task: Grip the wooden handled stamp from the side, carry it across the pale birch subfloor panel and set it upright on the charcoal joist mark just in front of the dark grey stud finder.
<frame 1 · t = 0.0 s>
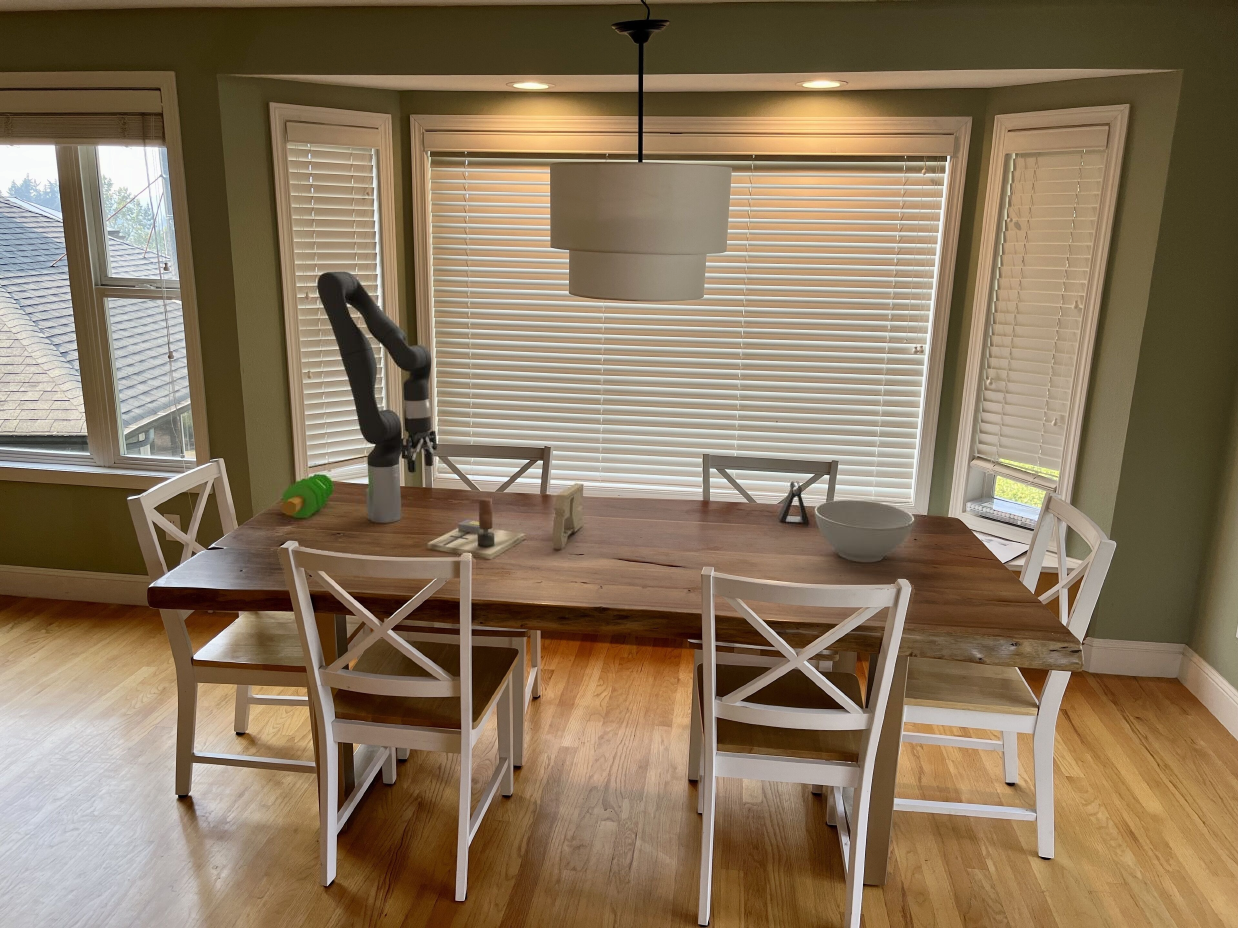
hand: (420, 469, 264), 17 cm above the table, tool pointing down, fingers open, 8 cm apart
phone stand: (793, 520, 281), on the table
subfloor panel: (477, 543, 253), on the table
decorative tree: (313, 510, 281), on the table
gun: (568, 537, 261), on the table
wooden handled stamp: (486, 544, 248), point 1 cm above the table, touching subfloor panel
stud finder: (473, 529, 260), point 2 cm above the table, touching subfloor panel
decorative bowl: (860, 555, 251), on the table
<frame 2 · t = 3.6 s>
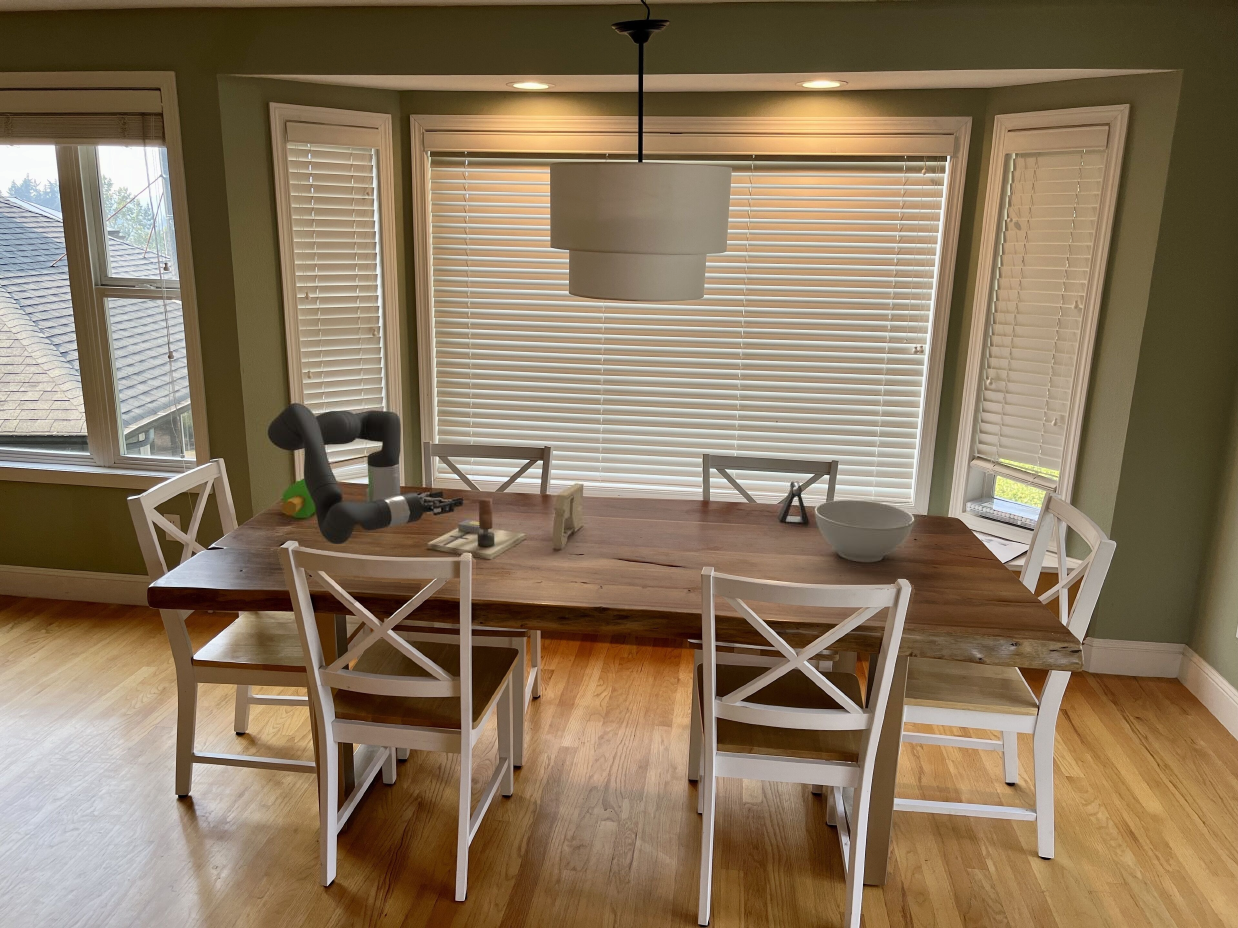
hand: (452, 497, 236), 17 cm above the table, tool horizontal, fingers open, 8 cm apart
nothing on the table moved.
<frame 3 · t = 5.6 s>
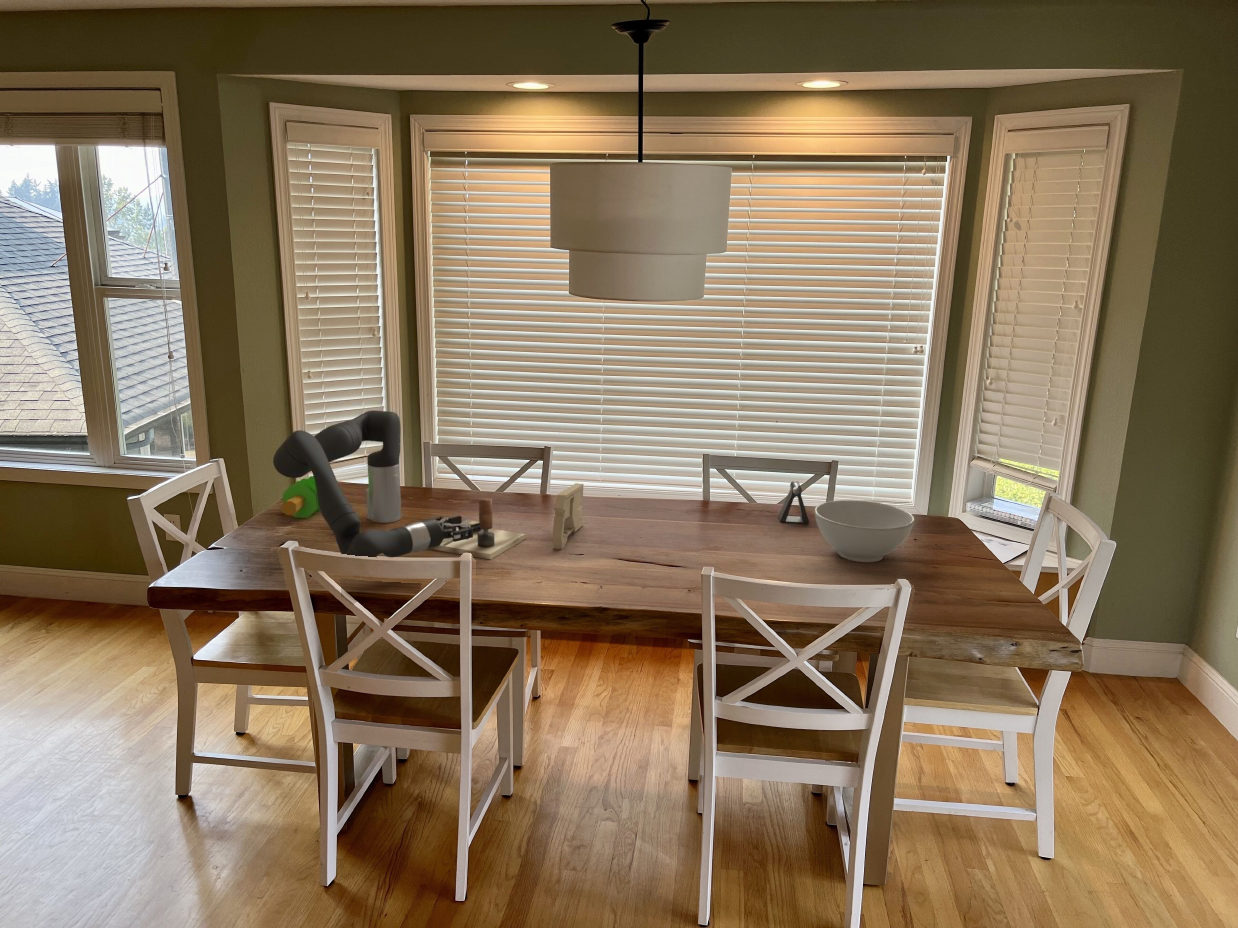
hand: (470, 522, 241), 9 cm above the table, tool horizontal, fingers open, 8 cm apart
nothing on the table moved.
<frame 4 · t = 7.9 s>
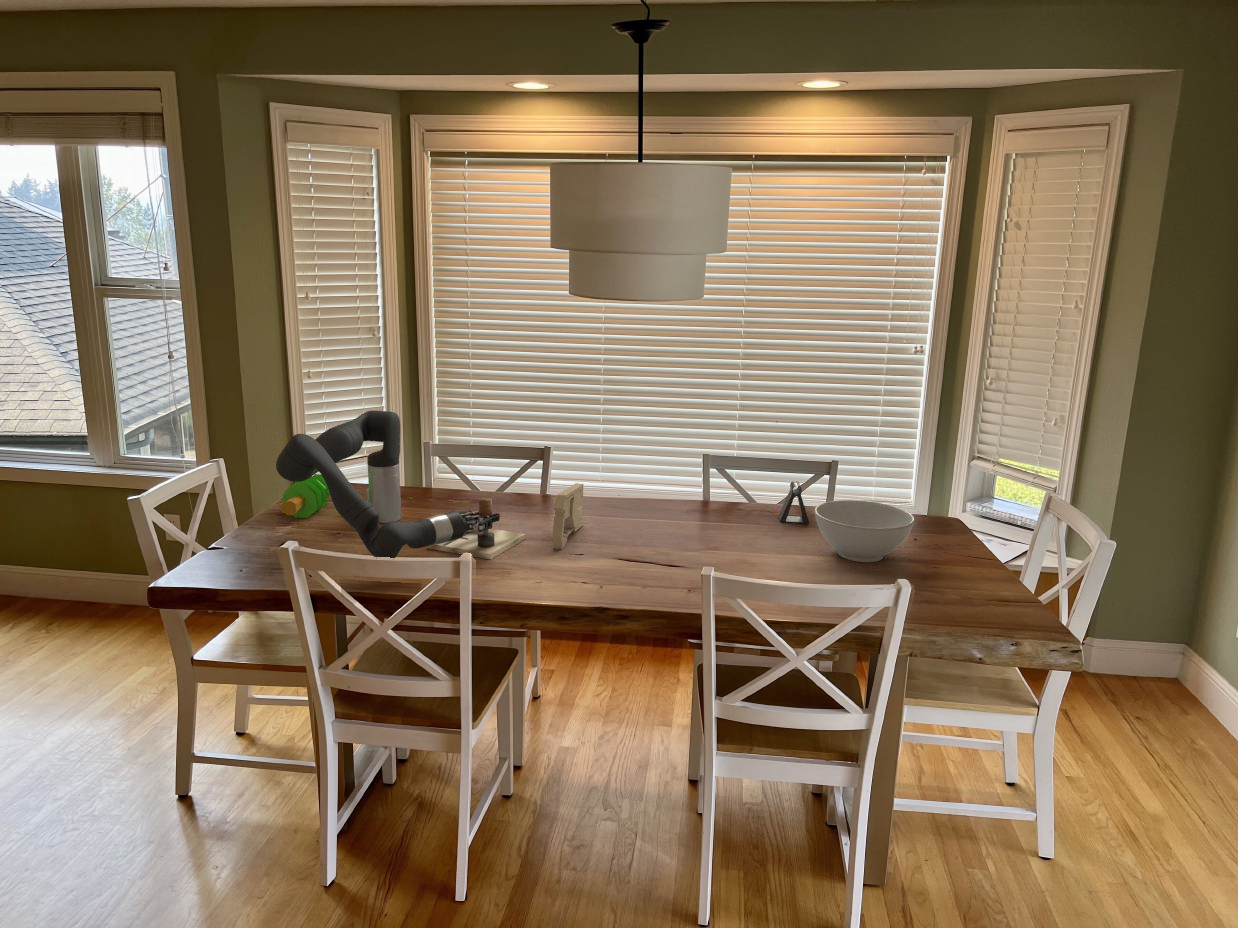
hand: (493, 515, 248), 9 cm above the table, tool horizontal, fingers closed on wooden handled stamp, 3 cm apart
wooden handled stamp: (486, 544, 248), point 1 cm above the table, touching gripper, subfloor panel
everything else where it was.
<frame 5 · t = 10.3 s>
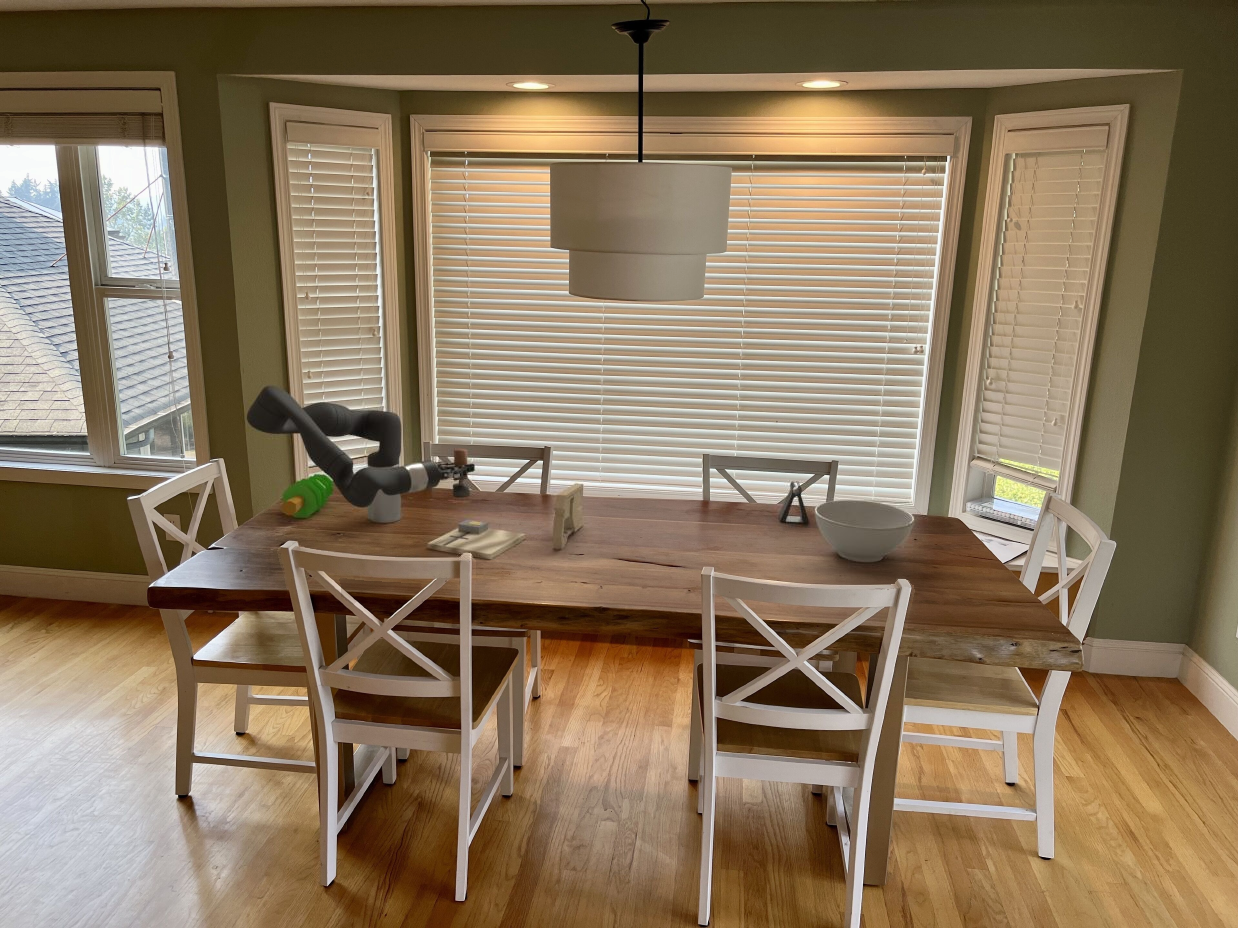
hand: (468, 465, 250), 22 cm above the table, tool horizontal, fingers closed on wooden handled stamp, 3 cm apart
wooden handled stamp: (461, 495, 250), point 14 cm above the table, touching gripper
everything else where it was.
when the fingers open (10 cm above the table, at t = 12.9 s): wooden handled stamp stays where it is, resting on subfloor panel.
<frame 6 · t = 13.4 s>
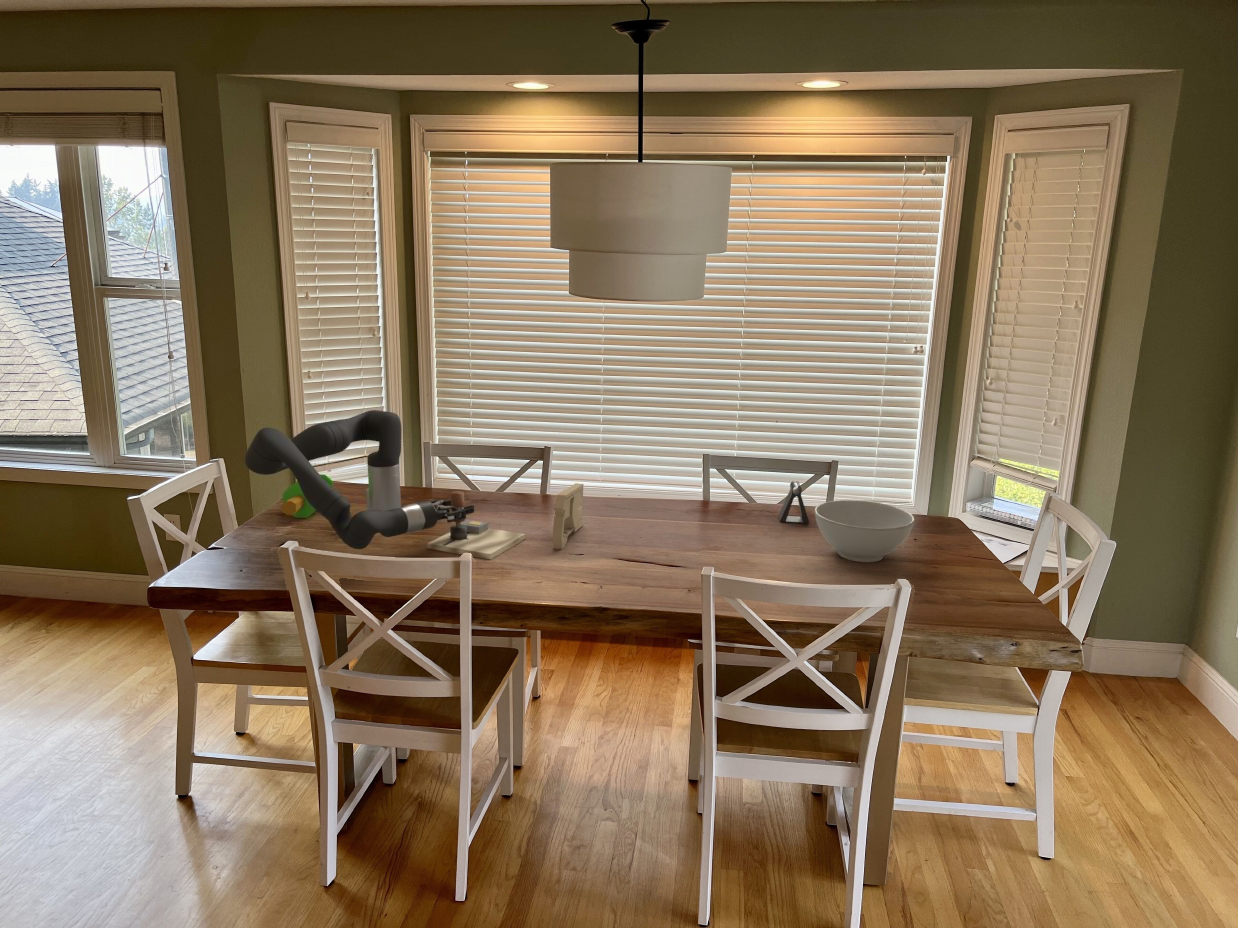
hand: (464, 505, 252), 11 cm above the table, tool horizontal, fingers open, 8 cm apart
wooden handled stamp: (458, 537, 253), point 2 cm above the table, touching subfloor panel
everything else where it was.
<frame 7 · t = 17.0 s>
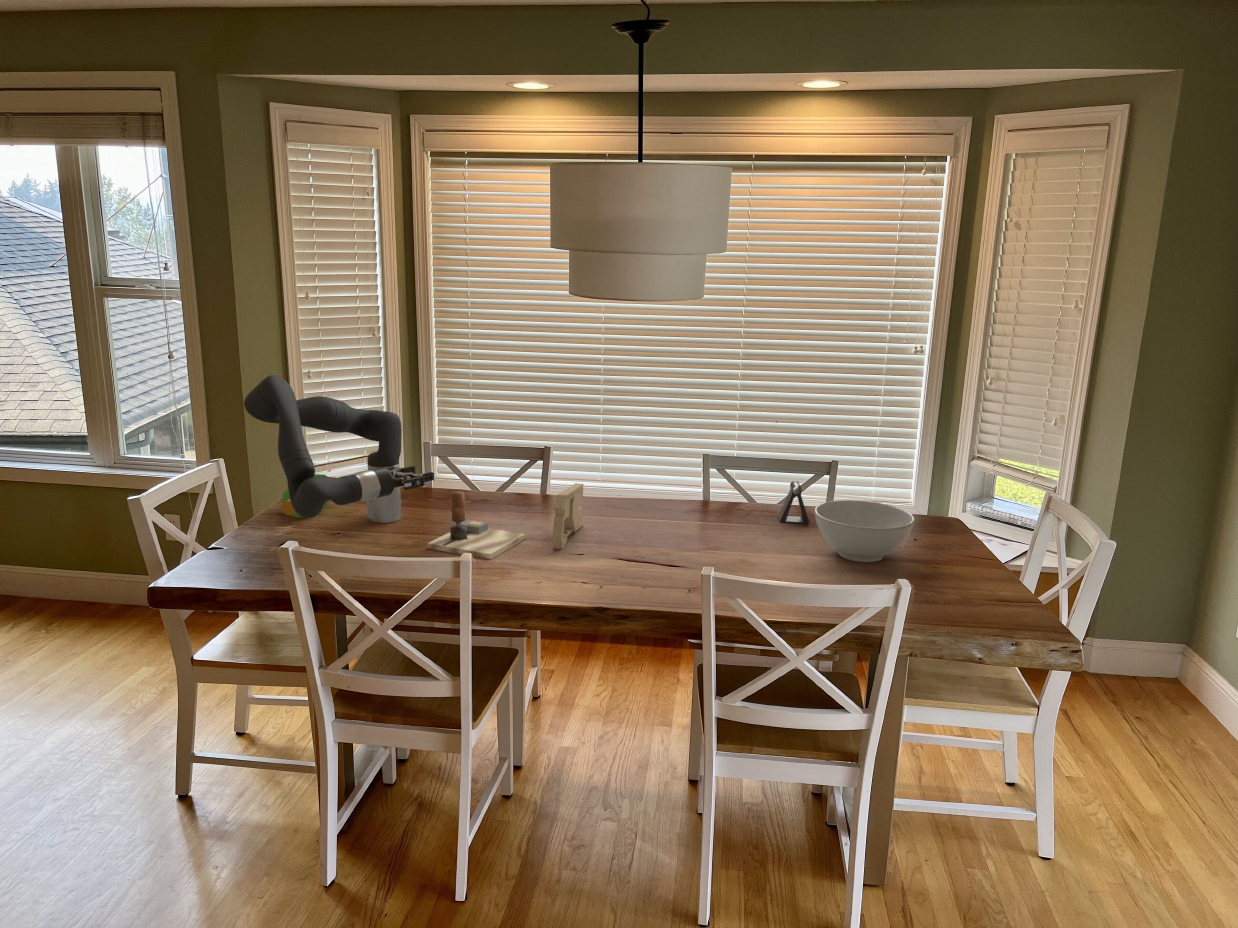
hand: (423, 472, 240), 22 cm above the table, tool horizontal, fingers open, 8 cm apart
nothing on the table moved.
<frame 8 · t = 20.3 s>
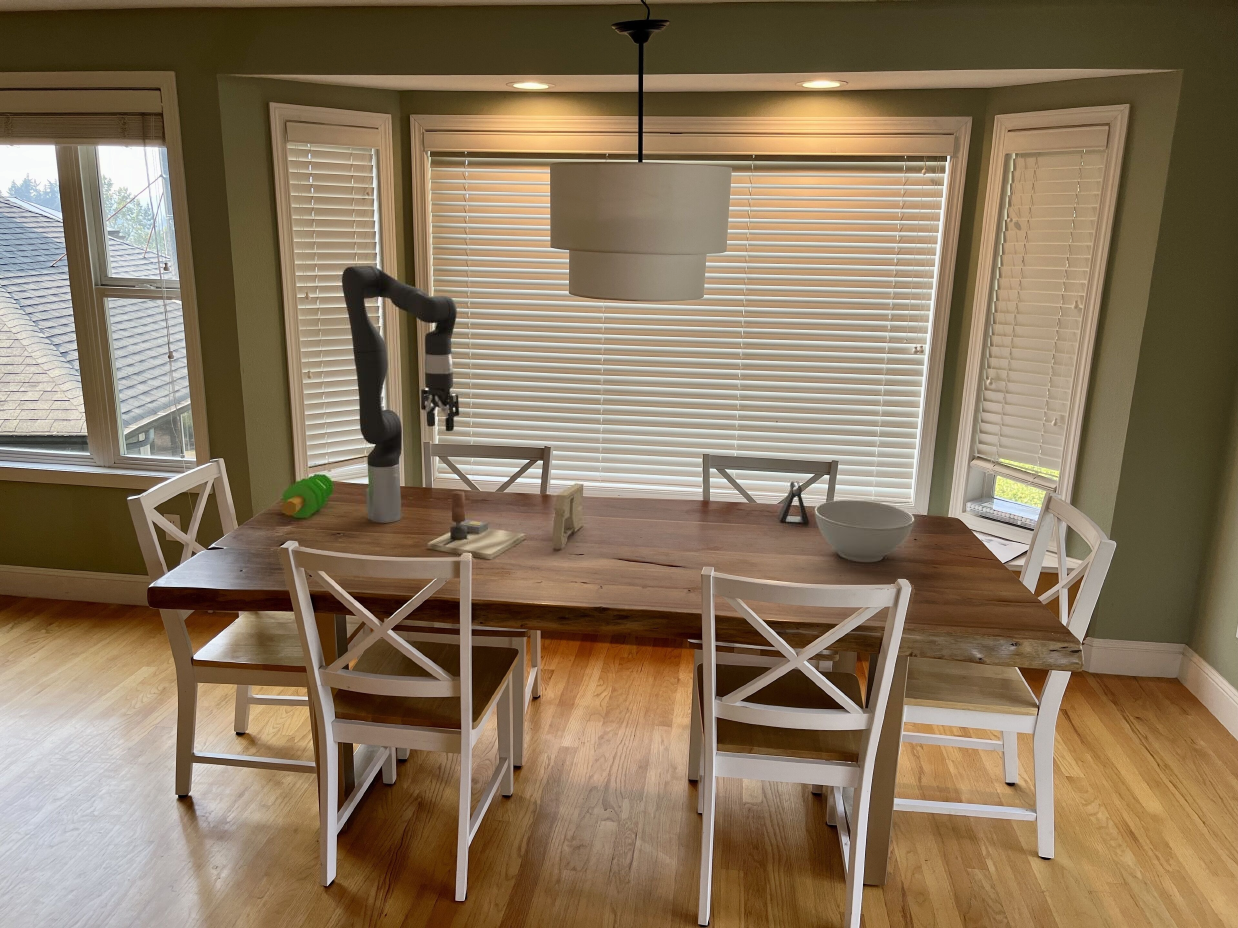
hand: (440, 428, 249), 32 cm above the table, tool pointing down, fingers open, 8 cm apart
nothing on the table moved.
at the end: wooden handled stamp 0.1 cm from the target spot, point 1.6 cm above the table; wooden handled stamp tilted 0°; the gripper is holding nothing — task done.
